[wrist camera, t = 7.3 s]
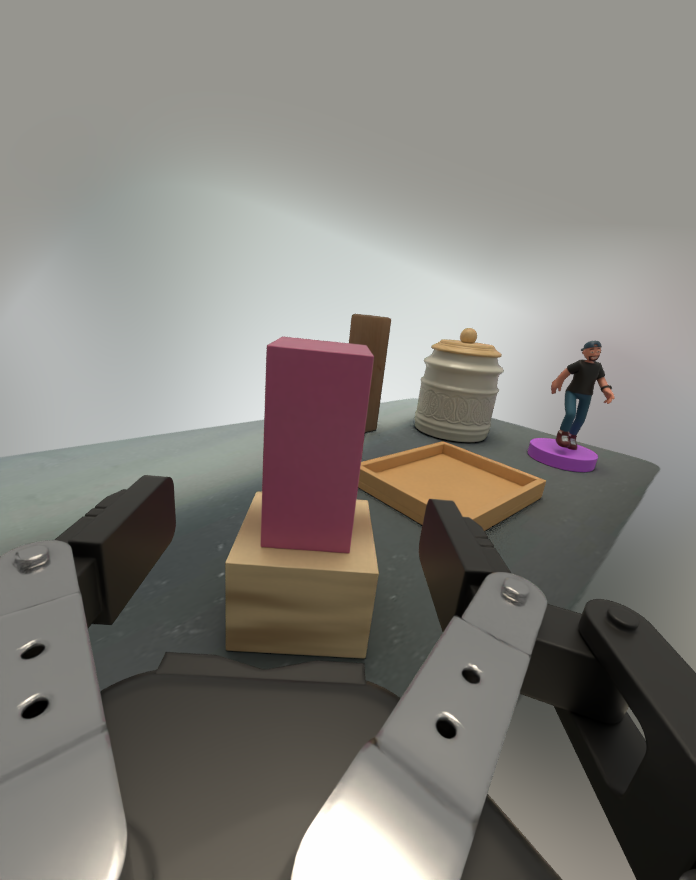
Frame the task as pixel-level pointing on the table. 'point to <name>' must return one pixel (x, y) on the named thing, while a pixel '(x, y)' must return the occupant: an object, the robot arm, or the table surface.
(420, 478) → the oak tray
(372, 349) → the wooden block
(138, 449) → the table surface
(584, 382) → the figurine
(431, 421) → the jar
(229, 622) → the birch base block
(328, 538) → the mulberry block
